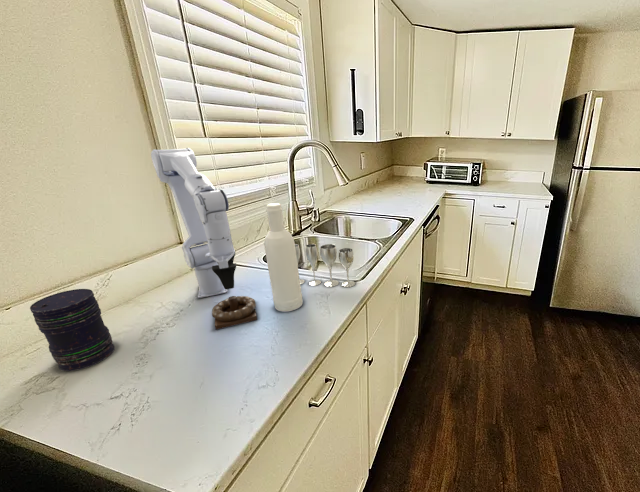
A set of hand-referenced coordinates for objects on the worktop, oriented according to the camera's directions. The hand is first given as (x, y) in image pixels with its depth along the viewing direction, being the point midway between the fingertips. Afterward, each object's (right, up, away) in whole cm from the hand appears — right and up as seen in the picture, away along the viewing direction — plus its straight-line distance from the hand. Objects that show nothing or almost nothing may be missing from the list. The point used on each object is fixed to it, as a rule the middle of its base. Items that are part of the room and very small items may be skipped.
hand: (229, 282), depth 91 cm
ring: (+2, -7, -1) cm, 7 cm away
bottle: (+15, -7, +5) cm, 17 cm away
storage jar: (-24, -16, -16) cm, 33 cm away
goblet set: (+19, -2, +18) cm, 26 cm away
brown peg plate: (+2, -9, -1) cm, 9 cm away
